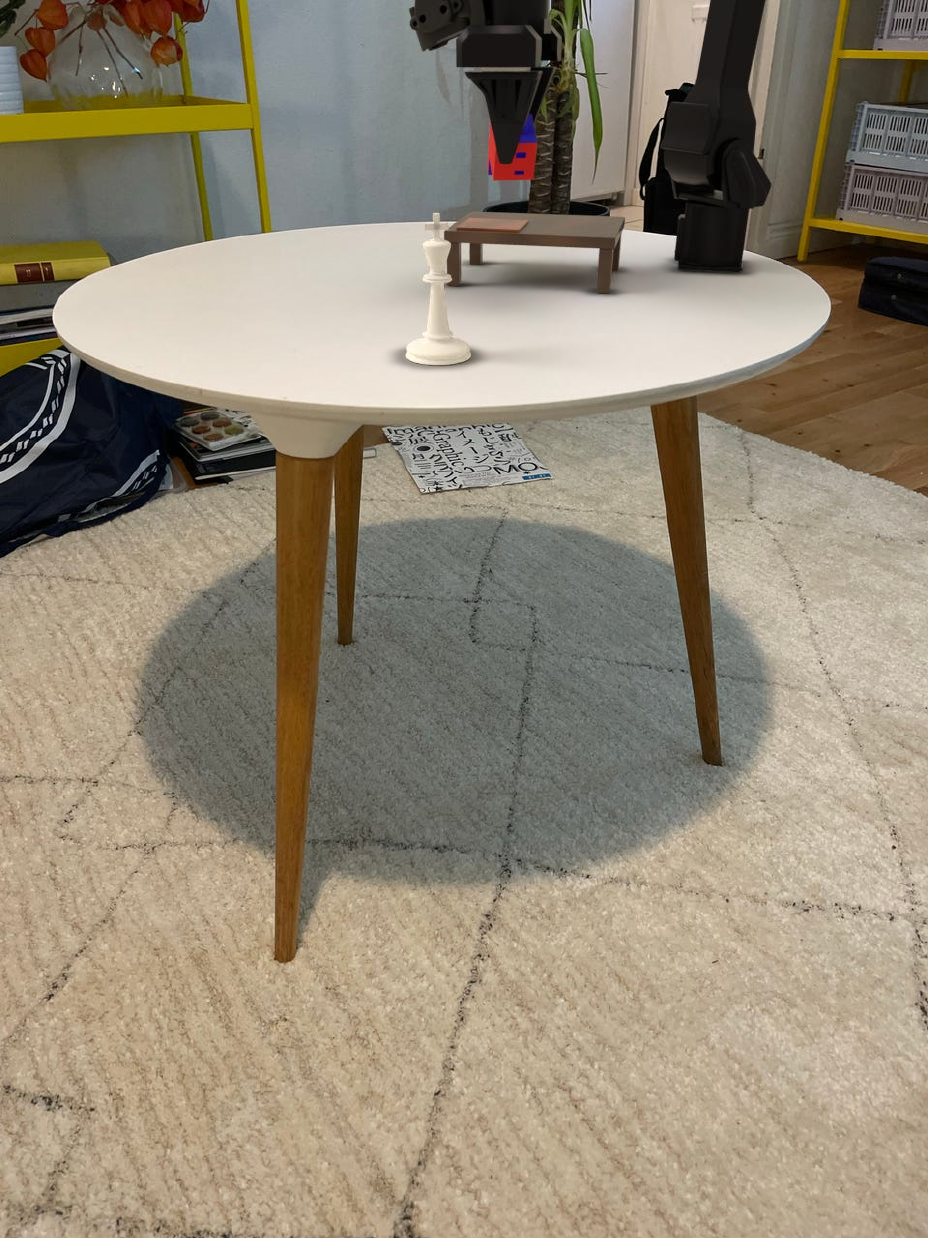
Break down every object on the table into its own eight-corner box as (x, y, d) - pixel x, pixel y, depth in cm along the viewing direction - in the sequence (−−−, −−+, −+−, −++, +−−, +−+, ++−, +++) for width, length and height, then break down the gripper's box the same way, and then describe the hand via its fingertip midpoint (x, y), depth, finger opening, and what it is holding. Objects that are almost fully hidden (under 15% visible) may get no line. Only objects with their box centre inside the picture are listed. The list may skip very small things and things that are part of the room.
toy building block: (492, 198, 86) (498, 111, 79) (487, 169, 88) (492, 82, 81) (531, 197, 86) (540, 110, 79) (525, 168, 88) (534, 81, 82)
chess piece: (404, 347, 74) (400, 208, 69) (467, 345, 75) (468, 207, 69) (406, 366, 70) (402, 219, 65) (473, 364, 70) (474, 218, 65)
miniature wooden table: (620, 268, 100) (625, 214, 97) (611, 294, 90) (615, 235, 87) (470, 261, 102) (470, 209, 100) (444, 286, 92) (443, 228, 90)
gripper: (441, -47, 86) (444, 147, 94) (386, -63, 70) (396, 171, 78) (565, -49, 84) (557, 148, 92) (538, -67, 68) (531, 173, 77)
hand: (511, 159), depth 85 cm, fingers closed on toy building block, 6 cm apart
